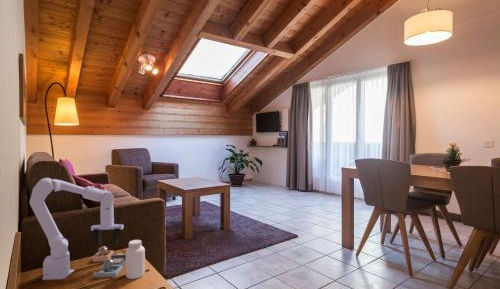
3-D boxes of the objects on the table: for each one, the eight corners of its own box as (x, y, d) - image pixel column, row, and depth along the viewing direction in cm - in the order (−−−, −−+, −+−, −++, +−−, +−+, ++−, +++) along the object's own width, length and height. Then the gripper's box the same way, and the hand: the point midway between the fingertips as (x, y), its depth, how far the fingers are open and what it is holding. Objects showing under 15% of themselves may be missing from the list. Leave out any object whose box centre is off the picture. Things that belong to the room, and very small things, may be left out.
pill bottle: (138, 280, 121) (137, 245, 121) (121, 278, 123) (121, 244, 122) (148, 271, 129) (148, 239, 129) (133, 270, 130) (132, 238, 130)
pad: (120, 264, 134) (119, 262, 134) (108, 264, 134) (108, 262, 134) (124, 259, 140) (124, 257, 140) (113, 260, 139) (113, 258, 139)
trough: (93, 277, 124) (93, 273, 124) (101, 269, 131) (101, 265, 131) (116, 276, 124) (115, 272, 124) (122, 268, 132) (122, 264, 132)
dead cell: (97, 260, 141) (96, 248, 141) (101, 256, 145) (101, 245, 145) (104, 260, 141) (104, 248, 141) (109, 256, 145) (108, 245, 145)
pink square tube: (92, 262, 140) (92, 256, 140) (99, 256, 147) (99, 250, 147) (107, 261, 140) (107, 255, 140) (113, 256, 147) (113, 250, 147)
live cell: (102, 274, 126) (101, 261, 126) (106, 270, 130) (106, 257, 130) (111, 274, 126) (111, 260, 126) (115, 270, 130) (114, 257, 130)
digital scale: (122, 268, 133) (121, 261, 133) (103, 269, 132) (103, 262, 132) (129, 259, 143) (129, 253, 143) (112, 260, 142) (112, 253, 142)
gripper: (87, 219, 132) (88, 248, 132) (119, 218, 133) (119, 247, 133) (94, 215, 139) (95, 242, 139) (124, 214, 140) (125, 241, 140)
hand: (107, 244), depth 137 cm, fingers open, 7 cm apart
